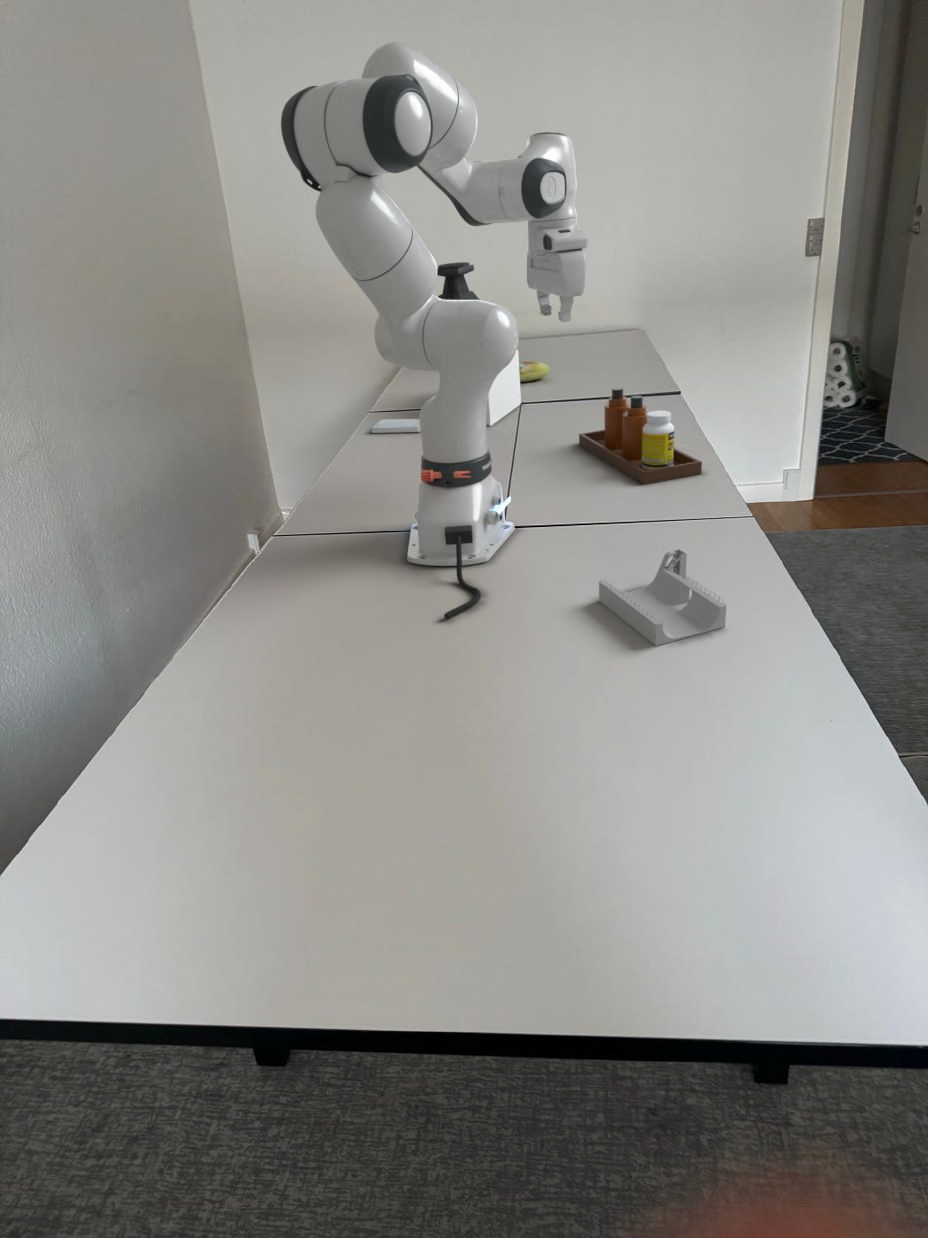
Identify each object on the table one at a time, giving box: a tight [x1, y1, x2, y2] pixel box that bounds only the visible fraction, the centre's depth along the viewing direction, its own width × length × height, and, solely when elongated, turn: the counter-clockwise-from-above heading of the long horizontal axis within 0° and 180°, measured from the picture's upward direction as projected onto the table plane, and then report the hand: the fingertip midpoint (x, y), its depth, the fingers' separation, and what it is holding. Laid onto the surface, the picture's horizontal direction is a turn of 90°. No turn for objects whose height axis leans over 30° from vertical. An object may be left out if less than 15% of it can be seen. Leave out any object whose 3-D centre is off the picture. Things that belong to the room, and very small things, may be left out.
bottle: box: [437, 261, 481, 300], centre depth 294 cm, size 18×16×30 cm
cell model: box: [519, 360, 551, 383], centre depth 253 cm, size 11×8×15 cm
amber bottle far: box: [603, 386, 631, 449], centre depth 182 cm, size 6×6×12 cm
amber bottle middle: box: [623, 395, 650, 460], centre depth 175 cm, size 6×6×12 cm
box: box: [486, 349, 522, 427], centre depth 225 cm, size 20×40×14 cm, turn 3°
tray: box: [578, 429, 703, 485], centre depth 177 cm, size 32×13×2 cm, turn 16°
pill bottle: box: [642, 410, 675, 470], centre depth 167 cm, size 6×6×11 cm
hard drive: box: [371, 418, 421, 434], centre depth 216 cm, size 2×8×12 cm
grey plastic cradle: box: [598, 549, 727, 647], centre depth 115 cm, size 15×13×5 cm
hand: (555, 318), depth 156 cm, fingers open, 8 cm apart
